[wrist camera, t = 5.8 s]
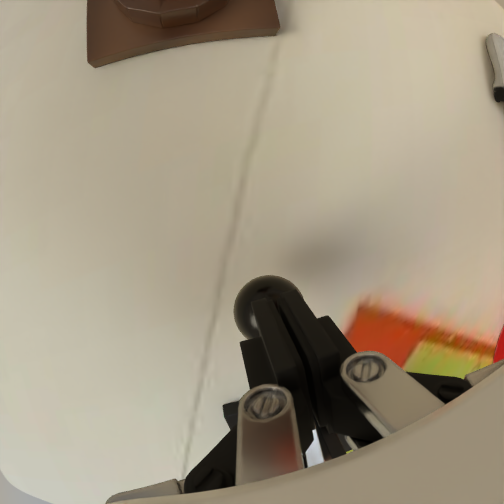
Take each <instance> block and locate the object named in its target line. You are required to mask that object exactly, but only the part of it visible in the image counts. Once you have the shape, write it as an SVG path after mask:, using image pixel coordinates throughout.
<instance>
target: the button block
mask: <svg viewBox="0 0 504 504" xmlns="http://www.w3.org/2000/svg"><path fill="white" fill-rule="evenodd" d="M279 29H280V23H279V19H278V14H277V10H276V6H275V1H274V0H87V62H88V63H89V64H90V65H92V66H93V67H94V68H96V67H99V66H102V65H106V64H109V63H112V62H115V61H119V60H122V59H126V58H129V57H133V56H137V55H141V54H145V53H149V52H153V51H158V50H162V49H167V48H172V47H177V46H183V45H188V44H194V43H201V42H208V41H215V40H223V39H233V38H244V37H258V36H275V35H276V34H277V32H278V31H279Z"/></svg>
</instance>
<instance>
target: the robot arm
mask: <svg viewBox="0 0 504 504" xmlns="http://www.w3.org/2000/svg"><path fill="white" fill-rule="evenodd" d="M277 304H278V308H279V313H280V315H279V313H278V311H277V309H276V306H275V304H274V302H273V300H270V301H267V300H266V298H263V299H260V300H256V301H253V302H251V305H252V309H253V313H254V316H255V320H256V323H257V327H258V331H259V334H260V336H259V337H256V338H252V339H249V340H245V341H242V342H240V346H241V351H242V355H243V360H244V364H245V369H246V373H247V378H248V382H249V387H250V390H249V391H248V392H247V393H245V394H244V395H243V397H242V398H241V400H240V402H239V406H238V423H237V424H236V425H235V426H234V427H233V428H232V429H231V431H230V432H229V433H228V434H227V435H226V436H225V437H224V438H223V439H222V440H221V441H220V442H219V443H218V444H217V445H216V446H215V447H214V448H213V449H212V450H211V451H210V453H209V454H208V455H207V456H206V457H205V458H204V459H203V460H202V461H201V462H200V463H199V464H198V465H197V466H196V467H195V468H193V469H192V470H191V472H190V473H189V474H188V475H187V477H186V479H183V480H180V481H177V480H176V479H172V480H168V481H165V482H162V483H158V484H154V485H151V486H147V487H143V488H139V489H135V490H130V491H126V492H121V493H118V494H115V495H113V496H111V497H110V498H109V499H108V500H107V501H106V503H105V504H504V359H502V360H500V361H498V362H496V363H493V364H491V365H489V366H486V367H484V368H482V369H479V370H477V371H474V372H472V373H469V374H467V375H465V378H464V379H461V378H457V377H450V376H439V375H429V374H420V373H411V372H405V371H404V370H403V369H401V368H400V367H399V366H398V365H396V364H395V363H394V362H393V361H392V360H390V359H389V358H388V357H387V356H385V355H383V354H382V353H379V352H375V351H364V352H358V353H357V352H356V351H355V349H354V348H353V347H352V345H351V344H350V343H349V342H348V340H347V339H346V338H345V336H344V335H343V334H342V332H341V331H340V330H339V328H338V327H337V326H336V325H335V323H334V322H333V321H332V319H331V318H330V317H329V316H324V317H321V318H318V319H317V318H316V317H315V315H314V314H313V312H312V311H311V310H310V308H309V307H308V305H307V304H306V302H305V301H304V299H303V298H302V297H301V295H300V294H299V292H298V291H297V290H296V289H294V290H290V291H287V292H284V293H281V298H277ZM312 411H313V412H312ZM313 413H314V416H315V418H316V420H317V422H318V425H319V427H320V428H321V427H324V426H326V428H327V430H328V432H329V434H331V433H333V432H334V433H337V434H341V435H345V439H346V442H347V443H348V444H349V446H350V447H351V448H352V450H353V452H350V453H348V454H345V455H342V456H340V457H337V458H334V459H332V460H329V461H326V462H323V463H320V464H317V465H314V466H311V467H308V461H307V456H306V451H307V450H308V448H309V447H310V445H311V444H312V442H313V441H314V436H313V431H312V430H315V423H314V418H313Z"/></svg>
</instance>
